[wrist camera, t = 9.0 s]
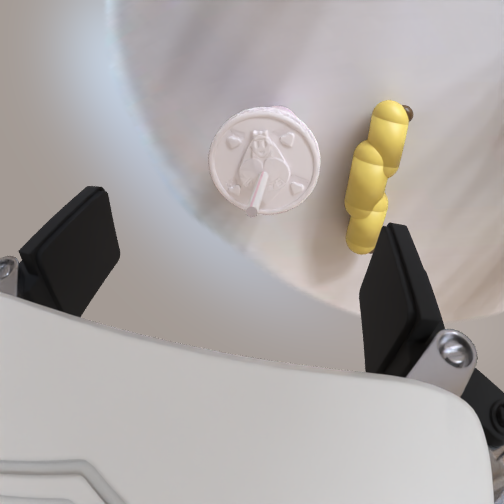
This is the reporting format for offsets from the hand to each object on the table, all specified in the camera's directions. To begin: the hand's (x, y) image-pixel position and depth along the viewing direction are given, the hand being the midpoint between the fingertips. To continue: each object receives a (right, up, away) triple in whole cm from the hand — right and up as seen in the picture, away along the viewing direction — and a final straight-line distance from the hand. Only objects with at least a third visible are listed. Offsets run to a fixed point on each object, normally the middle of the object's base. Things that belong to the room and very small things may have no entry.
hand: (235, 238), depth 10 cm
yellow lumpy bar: (+10, +6, +16) cm, 20 cm away
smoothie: (+3, +10, +15) cm, 18 cm away
